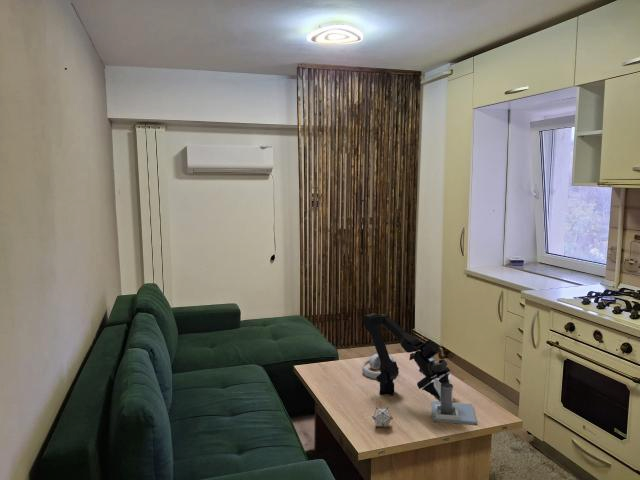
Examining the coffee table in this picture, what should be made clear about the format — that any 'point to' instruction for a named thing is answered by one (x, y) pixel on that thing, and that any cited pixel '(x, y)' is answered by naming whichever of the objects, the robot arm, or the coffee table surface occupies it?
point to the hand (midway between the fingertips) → (445, 394)
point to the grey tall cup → (446, 398)
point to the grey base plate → (454, 413)
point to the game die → (382, 417)
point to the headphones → (373, 366)
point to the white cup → (439, 385)
